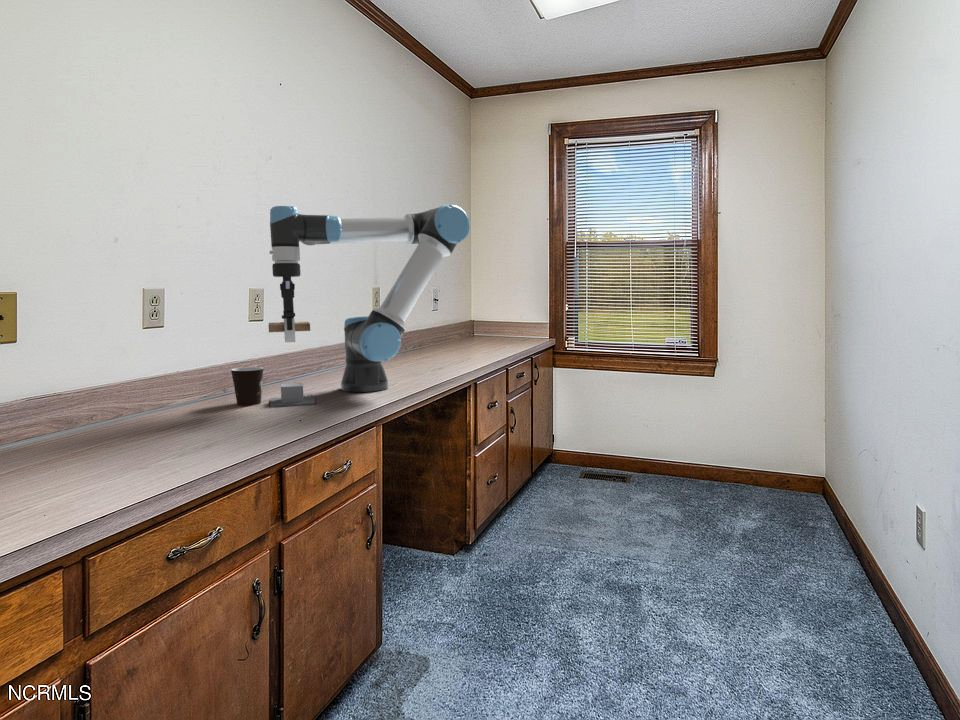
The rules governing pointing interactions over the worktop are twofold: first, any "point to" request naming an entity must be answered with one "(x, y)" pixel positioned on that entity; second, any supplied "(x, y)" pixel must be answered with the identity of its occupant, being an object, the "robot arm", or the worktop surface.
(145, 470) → the worktop surface
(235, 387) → the coffee mug
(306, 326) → the lid
